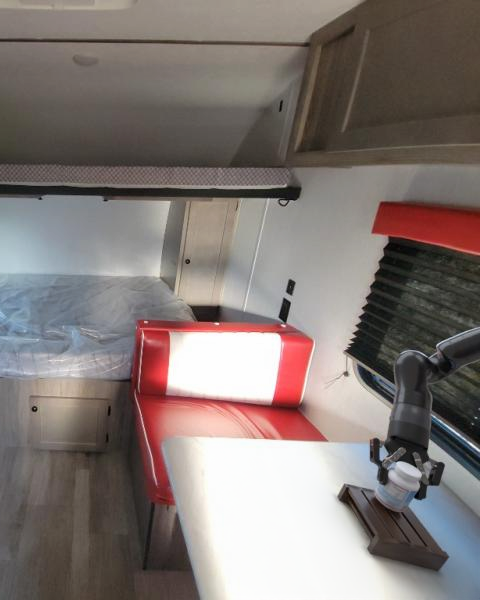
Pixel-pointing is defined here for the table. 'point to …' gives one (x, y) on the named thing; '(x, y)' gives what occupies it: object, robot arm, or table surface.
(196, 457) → the table surface
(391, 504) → the pill bottle
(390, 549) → the rack
